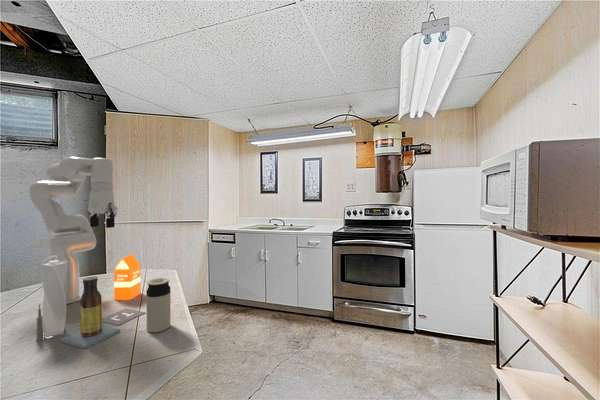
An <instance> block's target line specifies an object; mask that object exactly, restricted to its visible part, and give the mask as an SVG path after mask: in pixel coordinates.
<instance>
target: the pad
mask: <svg viewBox="0 0 600 400" xmlns="http://www.w3.org/2000/svg"><path fill="white" fill-rule="evenodd" d="M120 332H121V328H118V327H114V326H109V325H106V324H103V325H102V331H101V332H100V333H98V334H96V335H94V336H88V337H84V336H82V335H81V331H80V330H79V331H77V332H73V333H72V334H70V335H68V336H63V338H60V343H62V344H65V345H68V346H69V345H70V346H73V347H75V348H76V347H77V348H80V349H84V350H85V349H87V348H89V347H92V346H94V345H95V344H97V343H99V342H101V341H104V340H106V339H107V338H110V337H112V336H114V335H116V334H118V333H120Z"/></svg>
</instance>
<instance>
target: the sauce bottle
mask: <svg viewBox="0 0 600 400" xmlns="http://www.w3.org/2000/svg"><path fill="white" fill-rule="evenodd" d="M82 284H83V293H82V294H83V295H82V297H81V300H79V324H80V327H79V329H80V330H79V331H81V335H82V336H84V337H88V336H94V335H96V334H98V333H100V332H101V331H102V325H104V323H103V322H102V318H103V301H102V294H101V293H100V291H99V290H98V276H88V277H84V278H83V279H82Z"/></svg>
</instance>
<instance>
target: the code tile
mask: <svg viewBox="0 0 600 400" xmlns="http://www.w3.org/2000/svg"><path fill="white" fill-rule="evenodd" d="M145 314H147V311H141V310H136V309H130V308H123V309H120V310H119V311H115V312H112V313H111V314H109V315H107V316H106V315H105V316H104V317H103V316H102V323H106V324H110V325H115V326H122V325H123V324H125V323H127V322H129V321H131V320H134V319H136V318H138V317H140V316H142V315H145Z"/></svg>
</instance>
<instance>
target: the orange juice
mask: <svg viewBox="0 0 600 400" xmlns="http://www.w3.org/2000/svg"><path fill="white" fill-rule="evenodd" d="M113 272H114V275H113V277H114V278H113V279H114V280H113V288H114V291H113V293H114V296H113V297H114V300H115V301H117V300H118V301H119V300H121V301H123V300H124V301H126V300H132V299H134V298H135V297H136V296H139V295H140V294H141V279H142V278H141V263H140V262H139V261H138V260H137V259H136V257H135V256H134V254H132V253H131V254H129V255H128V256H124V257H122V258H121V259H120V261H119V262H118V263H117V265H116V267H115V268H114V269H113Z"/></svg>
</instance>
